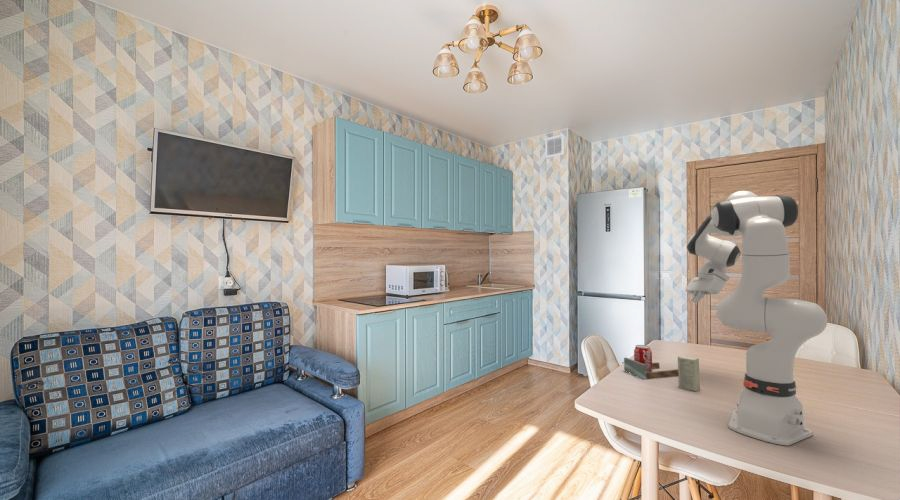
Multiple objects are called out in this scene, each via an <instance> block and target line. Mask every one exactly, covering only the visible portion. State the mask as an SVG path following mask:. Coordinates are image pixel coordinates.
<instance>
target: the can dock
mask: <svg viewBox="0 0 900 500" xmlns="http://www.w3.org/2000/svg"><path fill="white" fill-rule="evenodd" d="M623 366H624V367H623V369H624V370H625V371H624V370H623V371H624V372H626V371H627V372H626V373H628V372H630V373H632V374H631V375H633V374H634V376H635V375H636V376H635V377H637V376H638V377H637V378H640V379H643V380H652V379H660V378H671V377H672V378H673V377H679V374H678V369H669V370H668V369H667V370H657V369H660V362H652V370H655V371H652V372H646V365H645V364H642V363H640V362H637V361H634V359H632V358H628V357H624V358H623ZM656 370H657V371H656ZM630 373H629V374H630Z"/></svg>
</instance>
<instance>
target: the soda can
mask: <svg viewBox="0 0 900 500" xmlns="http://www.w3.org/2000/svg"><path fill="white" fill-rule="evenodd" d="M633 360H634V361H637V362H640V363H642V364H645V365H646V372H653V369H652V363H653V352H652V349H651V347H650V346H649V345H646V344H636V345H635V347H634V350H633Z"/></svg>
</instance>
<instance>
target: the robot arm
mask: <svg viewBox="0 0 900 500" xmlns="http://www.w3.org/2000/svg"><path fill="white" fill-rule="evenodd" d="M798 218H799V207H798V203H797V201H796V200H795V199H794V198H793V197H792V196H789V195H780V194H777V195H774V196H772V195H770V196H769V195H768V196H767V195H765V196H758V195H757V194H756V193H754V192H752V191H749V190H738V191H735V192H733V193H731V194H730V195H729V196H728V197H727V198H726V199H725V200H721V201H718V202H717V203H715V204H714V206H713V208H712V212H711V214H709V215H708V216H706V218H705V220H704V221H703V222H702V223H701V225H700V226H699V227H698V229H696V231H695V233H694V234H693V235H691V236H690V238H689V239H688V241H687V244H686V249H687V250H688V253H690V254H691V255H694V256H697V257H701V258H704V259H706V261H705V262H704V263H703V264H702V266H701V267H700V268H699V271H698V272H697V275H698V276H695V277H693V278H692V279H691V280H690V281H689V283H688V284H687V286H686V287H685V289H684V290H685V293H687V294H690V295H692V298H691V302H692V303H699V302H700V301H701V300H702V299H703V298H704V297H705V295H717V294H719V293H720V292H721V291H722V290H723V288H724V286H726V284H727V283H726V282H728V281H729V279H730V276H728V275H727V274H726V273H727V270H728V268H729V267H730V268H731V267H733V266H734V265H735V264H736V262H737V261H738V259H739V258H740V256H741V258H742V262H741V263H742V264H741V265H742V267H741V268H742V269H741V270H742V271H741V278H740V281H739V283H738V285H737V287H736V288H735V290H734V291H733V292H732V293H730V294H729V295H727V296H725V297H724V298H722V299H721V300H720V301H719V303H718V304H717V307H716V315H717V317H718V319H719V321H720V322H721V324H722V325H724V326H725V327H728V328H732V329H736V330H739V331H747V332H755V333H765V334H770V335H771V337H770V339H769V340H767V341H764V342H760V343H756V344H753V345H751V346H749V347H748V348H747V350H746V352H745V361H746V362H745V364H746V365H745V368H746V370H745V371H746V373H745V374H744V377H743V382H742V383H743V388H741V392H740V397H739V400H738V403H736V406H737V409H734V410H733V411H732V414H731V416H730V419H729V422H728V425H727V426H728V428H729V429H731V430H732V431H735V432H737V433H740V434H742V435H745V436H747V437H750V438H754V439H756V440H757V439H758V440H760V441H763V442H767V443H771V444H776V445H781V446H790V445H792V444H795V443H798V442H800V441H803V440H805V439H807V438H811V437H812V436H814V434H813V430H811V429H809V428H808V427H806V423H805V412H804V404H803V402H802V401H800V399H798V398H797V396H796V395H797V383H796V381H795V380H794V371H795V370H794V367H795V366H794V365H795V359H796V355H797V352H798V350H799V349H800V348H801V346H802V345H804V343H806V342H807V341H808V340H810V339H812V338H814V337H815V338H816V336H819V335H820V334H822V333H823V332H824V331H825V330H826V327H827V326H828V316H827V313H826V312H825V310H824V309H823V308H822V306H820V305H819V304H818V303H816V302H811V301H806V300H802V299H796V298H777V297H776V298H775V297H766V296H765V294H764V293H765V291H768V290H769V289H773V288H776V287H779V286H781V285H784V284H785V283H787V282H788V281H789V279H790V277H791V266H790V248H789V247H790V246H789V239H788V235H787V232H786V228H788V227H791V226H793V225H794V224H795V222H796V221H797V220H798ZM710 234H717V235H722V236H727V237H738V236H739V237H740V236H741V238H742V244H741V249H740V247H739V246H738V245H737V244H736V243H735V242H732V241H730V240H724V239H720V238H717V237H715V236H712V235H710Z"/></svg>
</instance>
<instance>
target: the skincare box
mask: <svg viewBox="0 0 900 500" xmlns="http://www.w3.org/2000/svg"><path fill="white" fill-rule="evenodd" d="M677 368H678V374H679V376H678V387H679V388H681V389H684V390H689V391H693V392H698V391H700V389H701V379H700V376H701V375H700V358H699V357H694V356H688V355H683V354H682V355H678V356H677Z"/></svg>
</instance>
